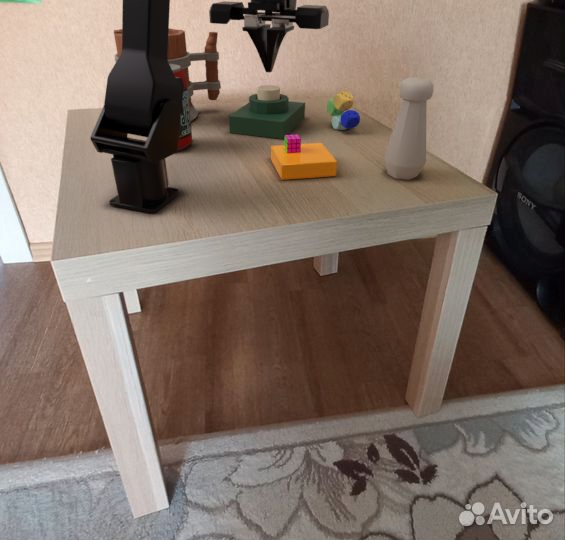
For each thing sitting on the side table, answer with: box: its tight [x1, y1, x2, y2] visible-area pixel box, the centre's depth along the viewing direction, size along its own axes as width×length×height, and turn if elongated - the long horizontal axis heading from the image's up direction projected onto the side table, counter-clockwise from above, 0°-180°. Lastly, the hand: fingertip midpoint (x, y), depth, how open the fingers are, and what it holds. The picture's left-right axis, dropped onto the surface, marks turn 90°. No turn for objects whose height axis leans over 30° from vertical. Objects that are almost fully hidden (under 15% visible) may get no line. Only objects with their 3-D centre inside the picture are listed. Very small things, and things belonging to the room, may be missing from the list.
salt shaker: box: [383, 76, 434, 181], centre depth 64 cm, size 6×6×13 cm
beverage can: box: [169, 64, 193, 151], centre depth 73 cm, size 7×7×12 cm
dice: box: [326, 90, 361, 131], centre depth 83 cm, size 8×3×6 cm, turn 25°
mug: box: [113, 27, 222, 122], centre depth 86 cm, size 14×19×15 cm
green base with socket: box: [228, 93, 306, 140], centre depth 85 cm, size 13×10×5 cm
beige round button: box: [256, 84, 281, 101], centre depth 83 cm, size 4×4×2 cm
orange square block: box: [270, 134, 338, 181], centre depth 68 cm, size 8×8×4 cm
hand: (269, 71), depth 80 cm, fingers closed
